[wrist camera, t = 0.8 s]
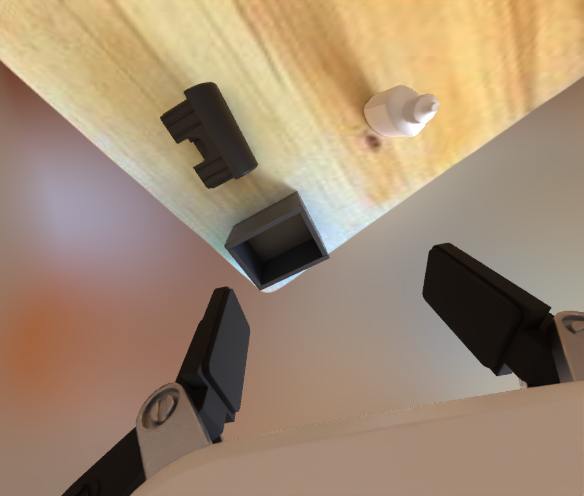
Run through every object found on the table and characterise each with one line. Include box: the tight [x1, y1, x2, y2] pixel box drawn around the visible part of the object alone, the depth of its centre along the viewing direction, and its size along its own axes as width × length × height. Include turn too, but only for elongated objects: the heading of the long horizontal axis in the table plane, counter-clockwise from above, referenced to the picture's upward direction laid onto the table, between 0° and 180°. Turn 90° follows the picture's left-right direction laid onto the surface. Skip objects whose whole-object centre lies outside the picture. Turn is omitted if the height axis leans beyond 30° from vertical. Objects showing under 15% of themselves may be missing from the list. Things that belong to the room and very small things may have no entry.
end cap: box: [160, 82, 258, 189], centre depth 27 cm, size 10×7×7 cm
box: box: [224, 192, 330, 290], centre depth 34 cm, size 10×13×8 cm
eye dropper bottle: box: [363, 85, 439, 137], centre depth 24 cm, size 4×6×12 cm
